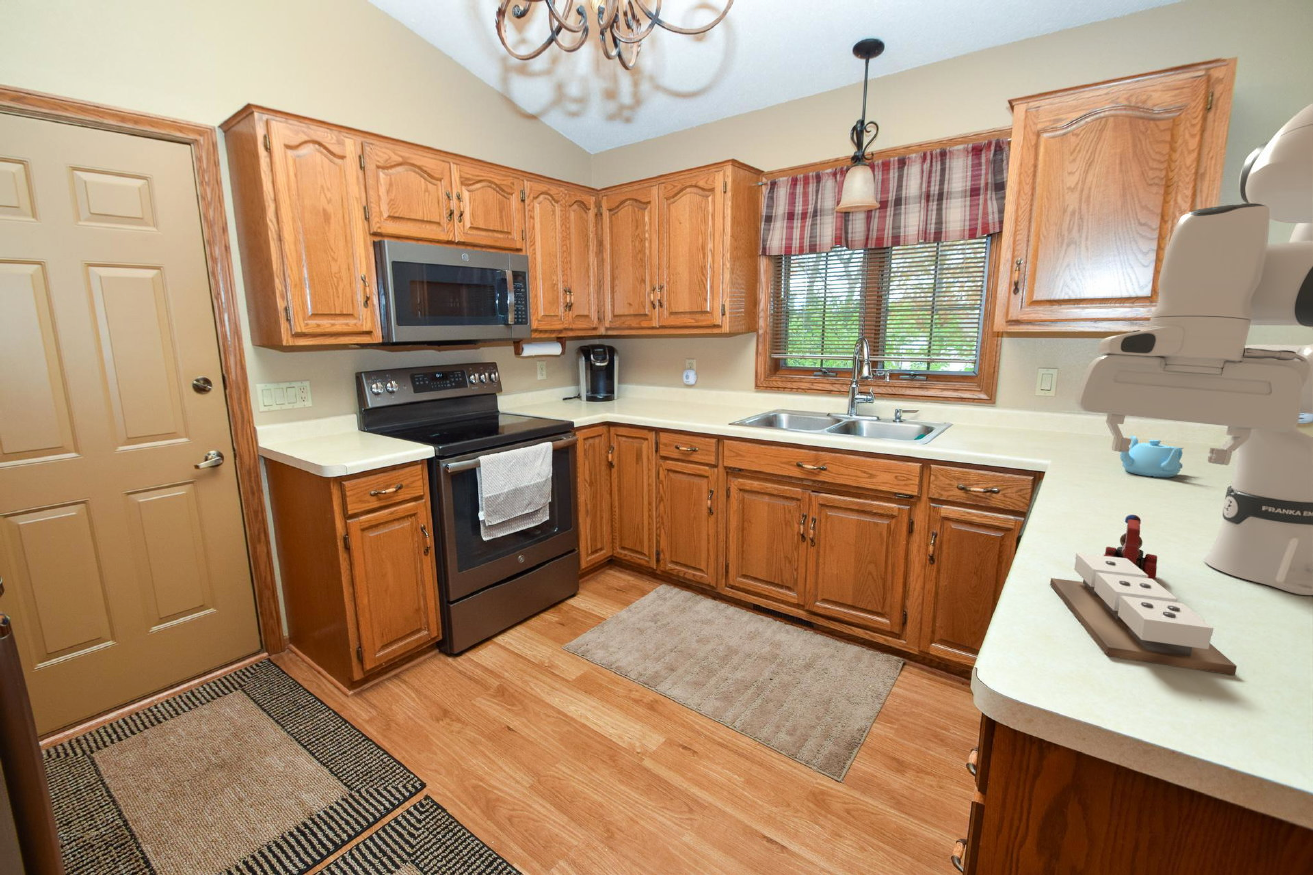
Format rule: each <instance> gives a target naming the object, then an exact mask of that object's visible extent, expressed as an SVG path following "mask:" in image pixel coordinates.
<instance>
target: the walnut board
mask: <svg viewBox="0 0 1313 875" xmlns="http://www.w3.org/2000/svg"><path fill="white" fill-rule="evenodd" d="M1082 579H1083V578H1082ZM1049 586H1051V589H1053V591H1054V592H1055V593H1056V594H1057V596H1058V597H1059V598H1060V600H1061V601H1062V602H1063V603H1064V604H1065V606H1066V607H1067V609H1069V610H1070V612H1071V613H1072V614H1073V616H1074V617H1075V618H1076V619H1077V621H1078V622H1079V623H1080V624H1081V626H1082V627H1083V628H1084V629H1085V631H1086V632H1087V633H1088V635H1089V636H1090V637H1091V638H1092V639H1093V640H1094V642H1095V643H1096V644H1097V645H1098V647H1099V648H1100V649H1101V650H1102V652H1103V653H1104V655H1106V657H1107V656H1108V657H1113V658H1120V659H1126V660H1133V661H1140V662H1146V663H1153V664H1159V665H1166V666H1172V667H1179V668H1186V669H1193V670H1200V671H1206V672H1213V673H1219V674H1223V675H1224V674H1225V675H1231V676H1235V675H1236V672H1237V667H1238V666H1237V665H1236V664H1235V663H1234V662H1232V660H1231V659H1229V658H1228V657H1227V656H1226V655H1225V654H1223V653H1222V652H1221V651H1220V650H1218V648H1216V647H1215V646H1214V645H1213V644H1212V643H1210V645H1209V649H1203V648H1196V647H1189V646H1182V645H1175V644H1168V643H1161V642H1154V641H1147V640H1141V639H1140V638H1139V637H1138V636H1137V635H1136V634H1135V633H1134V631H1133V630H1132V629H1131V628H1130V627H1129V626H1128V625H1127V624H1126V623H1125V622H1124V621H1123V620H1122V619H1121V618H1120V617H1119V616H1118V611H1113V609H1112V608H1111V607H1110V606H1109V605H1108V604H1107V603H1106V602H1105V601H1104V600H1103V599H1102V598H1101V597H1100V596H1099V595H1098V594H1097V593H1096V592H1095V591H1094V588H1095V587H1091V586H1090V585H1089V584H1088V583H1087V582H1086V581H1085V580H1084V579H1083V580H1082V581H1079V580H1073V579H1072V580H1069V579H1062V578H1055V577H1050V583H1049Z"/></svg>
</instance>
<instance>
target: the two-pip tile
mask: <svg viewBox="0 0 1313 875" xmlns="http://www.w3.org/2000/svg"><path fill="white" fill-rule="evenodd" d="M1095 579H1096V581H1095V588H1094V591H1095V592H1096V593H1097V594H1098V595H1099V596H1100V597H1101V598H1102V599H1103V600H1104V601H1105V602H1106V603H1107V604H1108V605H1109V606H1110V607H1111V608H1112V609H1113V611H1118V610H1119V604H1120V603H1119V600H1120V596H1128V597H1136V598H1144V599H1152V600H1160V601H1168V602H1176V603H1178V598H1177V597H1176V596H1174V595H1173V594H1172V593H1170V592H1169V590H1167V589H1165V588H1164V587H1163V586H1162V585H1161V584H1160V583H1158V582H1157V581H1156V580H1155V581H1154V580H1153V579H1150V578H1141V577H1132V576H1124V575H1115V574H1106V573H1097V572H1096V578H1095Z"/></svg>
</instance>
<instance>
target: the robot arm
mask: <svg viewBox="0 0 1313 875" xmlns="http://www.w3.org/2000/svg"><path fill="white" fill-rule="evenodd" d="M1238 178H1239V179H1238V188H1239V190H1240V191H1239V192H1240V198H1241V200H1242V201H1243V203H1241V204H1239V203H1237V204H1227V205H1220V206H1212V207H1203V208H1199V209H1194V210H1192V211H1189V212H1188V213H1186V214H1183V215H1182V216H1181V217H1180V218H1179V220H1178V222H1177V224H1176V225H1175V227H1174V230H1173V232H1172V235H1171V237H1170V240H1169V243H1168V245H1167V248H1166V251H1165V254H1164V257H1163V262H1162V265H1161V269H1160V273H1159V278H1158V283H1157V286H1158V301H1157V304H1156V307H1155V308H1154V310H1153V312H1152V313H1151V315H1150V319H1149V324H1148V327H1147V328H1146V329H1145V330H1144V329H1143V330H1140V329H1138V330H1132V331H1128V332H1127V333H1124V334H1118V335H1112V336H1108V337H1105V338H1104V339H1101V341H1100V342H1099V344H1098V348H1097V350H1098V354H1100V355H1102V356H1099V357H1096V358H1094V359H1093V360H1092V361H1091V362H1090V363H1089V364H1088V366H1087V367H1086V370H1085V371H1084V373H1083V377H1082V379H1081V382H1080V384H1079V388H1078V391H1077V396H1076V399H1075V404H1076V405H1077V407H1078V408H1079V409H1080V411H1083V412H1089V413H1099V414H1106V420H1105V424H1106V426H1107V428H1108V429H1109V431H1110V433H1111V435H1112V437H1113V439H1112V444H1111V451H1113V452H1119V453H1121V452H1127V453H1128V452H1129V449H1130V446H1131V443H1132V439H1131V438H1129V437H1124V435H1123V433H1122V432H1121V429H1120V426H1119V425H1124V422H1125V418H1126V417H1127V416H1129V417H1138V418H1146V419H1147V418H1148V419H1155V420H1156V419H1157V420H1165V421H1175V422H1185V423H1197V424H1202V425H1203V424H1204V425H1212V426H1213V425H1216V426H1223V427H1227V428H1226V429H1227V430H1226V434H1225V435H1226V436H1229V437H1230V436H1231V437H1230V438H1228V440H1226V441H1225V442H1224V443H1223V444H1222V445H1221V446H1220V447H1218V448H1216V447H1215V448H1214V447H1210V448H1209V452H1208V454H1209V456H1207V463H1210V464H1215V465H1223V466H1229V465H1230V463H1231V459H1232V455H1233V452H1235V460H1234V469H1233V474H1232V479H1231V480H1232V481H1231V485H1229V486H1228V487H1227V488H1226V489H1227V490H1226V494H1225V497H1224V501H1223V508H1222V518H1223V519H1222V522H1221V524H1220V527H1219V530H1218V533H1217V534H1216V537H1215V540H1214V542H1213V544H1212V545H1211V548H1210V549H1209V550H1208V552H1207V554H1206V555H1205V556H1204V558H1203V560H1204V562H1205V563H1206V564H1207V565H1209V566H1210V567H1212V568H1214V569H1216V570H1218V571H1221V572H1222V573H1225V574H1228V575H1231V576H1233V577H1237V578H1241V579H1244V580H1248V581H1251V582H1254V583H1259V584H1263V585H1267V586H1271V587H1273V588H1276V589H1279V590H1282V591H1285V592H1289V593H1291V594H1296V595H1302V596H1304V595H1305V596H1313V436H1311V435H1308V434H1306V433H1305V432H1302V431H1301V430H1300V429H1299V428H1298V427H1297V425H1298V423H1299V420H1300V417H1301V416H1300V415H1301V414H1309V415H1313V343H1312V344H1307V345H1306V344H1305V345H1304V344H1301V345H1300V344H1296V345H1295V344H1249V345H1248V344H1247V341H1248V340H1247V339H1248V336H1249V331H1250V327H1251V326H1303V327H1308V328H1311V329H1312V330H1313V102H1312V103H1311V104H1308V105H1307V106H1306V107H1304V108H1303V109H1302V110H1300V111H1299V112H1298V113H1297V114H1295V115H1294V116H1293V117H1291V118H1290V120H1288V121H1287V122H1286V123H1285V124H1284V125H1283V126H1281V128H1280V129H1279V130H1278V131H1277V132H1276V133H1275V134H1274V135H1273V137H1272V138H1271V139H1270V140H1269V141H1267V142H1264V143H1262V144H1260V145H1259V146H1257V148H1255V149H1254V150H1253V151H1252V152H1251V153H1250V154H1248V156H1247V158H1246V159H1245V161H1244V163H1243V165H1242V168H1241V171H1240V173H1239V177H1238ZM1270 220H1272V221H1276V222H1279V223H1285V224H1287V223H1288V224H1296V225H1295V226H1294V229H1293V231H1292V233H1291V236H1290V238H1289V241H1288V242H1281V243H1280V242H1279V243H1269V234H1270ZM1246 344H1247V345H1246Z"/></svg>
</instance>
